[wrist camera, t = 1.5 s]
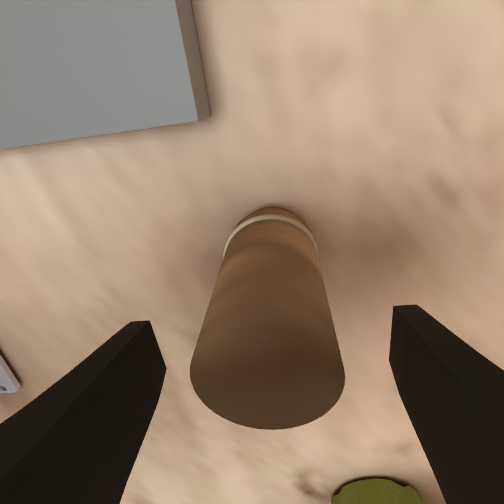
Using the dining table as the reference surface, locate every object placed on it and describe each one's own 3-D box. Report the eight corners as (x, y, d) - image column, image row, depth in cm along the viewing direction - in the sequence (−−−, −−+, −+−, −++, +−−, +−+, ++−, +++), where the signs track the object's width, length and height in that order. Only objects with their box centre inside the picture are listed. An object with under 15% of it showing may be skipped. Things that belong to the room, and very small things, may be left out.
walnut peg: (237, 275, 17) (203, 433, 9) (224, 201, 16) (168, 321, 8) (315, 269, 17) (348, 430, 9) (311, 192, 15) (349, 310, 7)
